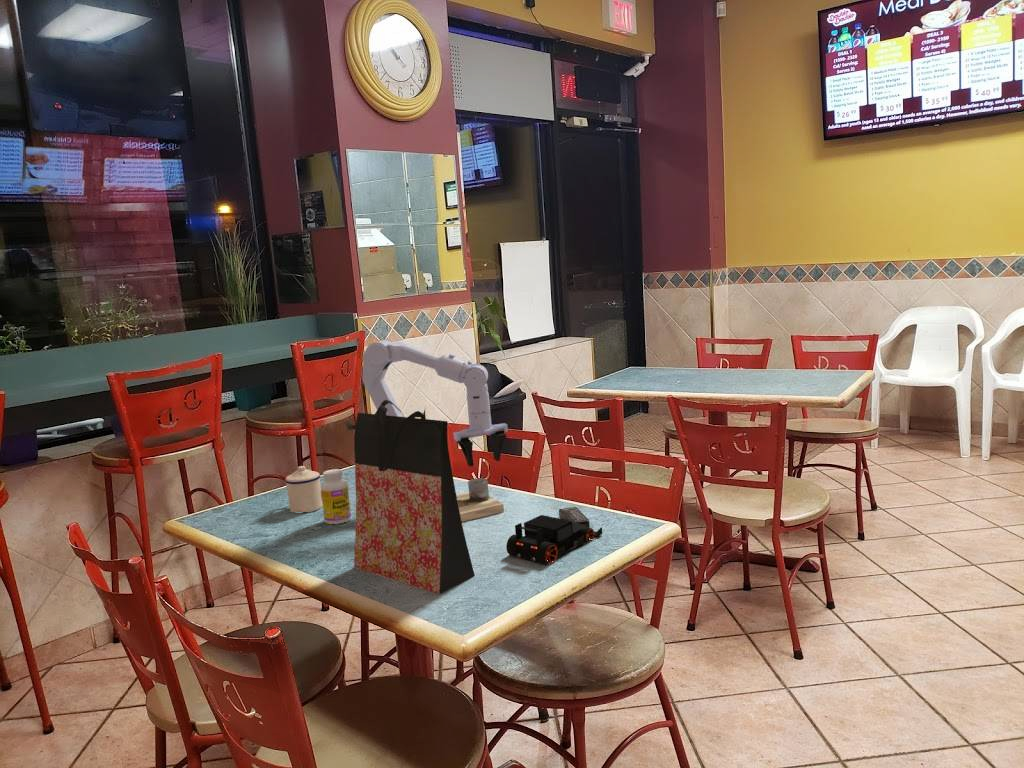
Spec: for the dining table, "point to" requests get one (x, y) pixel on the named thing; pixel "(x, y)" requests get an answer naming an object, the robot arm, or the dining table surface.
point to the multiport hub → (573, 515)
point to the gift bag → (407, 502)
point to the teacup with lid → (304, 490)
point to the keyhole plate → (477, 507)
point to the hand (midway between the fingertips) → (483, 462)
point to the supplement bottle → (335, 497)
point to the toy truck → (548, 538)
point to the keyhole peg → (478, 489)
